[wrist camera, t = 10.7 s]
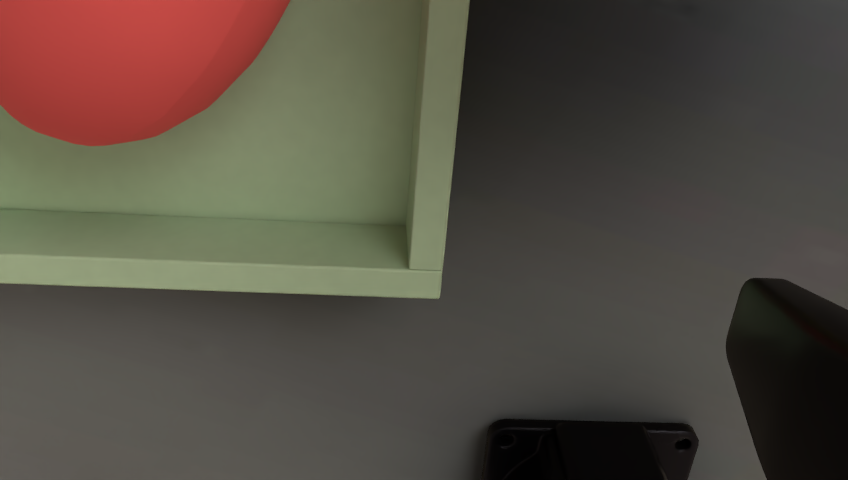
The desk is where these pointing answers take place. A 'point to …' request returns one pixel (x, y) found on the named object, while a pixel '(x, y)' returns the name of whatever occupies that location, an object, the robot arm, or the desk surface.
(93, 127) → the red bean shape
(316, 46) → the tray
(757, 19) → the desk surface
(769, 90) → the desk surface
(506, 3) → the desk surface
